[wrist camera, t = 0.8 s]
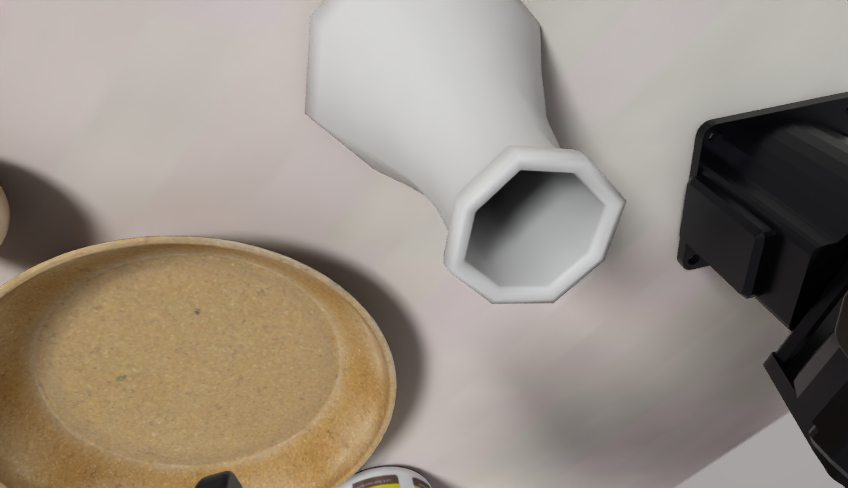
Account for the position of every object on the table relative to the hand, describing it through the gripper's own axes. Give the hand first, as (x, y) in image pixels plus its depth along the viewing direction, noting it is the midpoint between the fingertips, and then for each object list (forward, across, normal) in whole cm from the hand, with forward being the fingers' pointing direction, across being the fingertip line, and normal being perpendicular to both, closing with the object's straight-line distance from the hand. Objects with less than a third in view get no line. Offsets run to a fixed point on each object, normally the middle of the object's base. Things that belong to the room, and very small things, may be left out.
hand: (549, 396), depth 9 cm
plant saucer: (+13, +10, +8) cm, 19 cm away
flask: (+13, -1, -1) cm, 13 cm away
